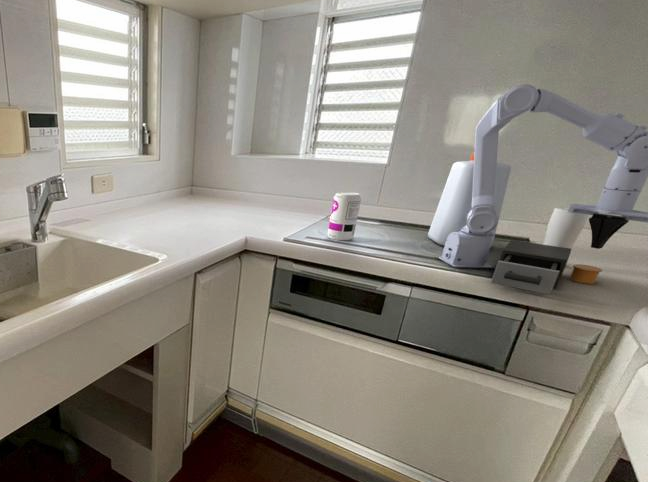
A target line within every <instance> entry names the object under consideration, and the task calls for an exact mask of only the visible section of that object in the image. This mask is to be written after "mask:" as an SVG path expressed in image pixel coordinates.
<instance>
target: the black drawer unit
mask: <svg viewBox="0 0 648 482" xmlns="http://www.w3.org/2000/svg"><path fill="white" fill-rule="evenodd" d="M571 253H572V249H570V248H563V247H556V246H549V245H543V243H542V244H541V243H535V242H528V241H521V240H515V239H511V240H510V241H509V242H508V243H507V245H506V246H505V247H504V248H503V249H502V250H501V254H500V257H499V259H498V261H504V260H505V258H506V257H507V256H508V255H509V254H511V255H517V256H524V257H530V258H536V259H542V260H548V261H554V262H559V263H558V265H557V268H556V270H557V271H560V272H559V274H558V277H557V279H556V282H555V284H554V286H553V289H554V290H556V289H557V287H558V285H559V282H560V280H561V277H562V275H563V273H564V270H565V268H566V266H567V264H568V261H569V258H570V255H571ZM553 289H552V290H553Z"/></svg>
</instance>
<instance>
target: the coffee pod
mask: <svg viewBox="0 0 648 482" xmlns="http://www.w3.org/2000/svg"><path fill="white" fill-rule="evenodd" d="M572 267H573V270H572V272H571V273H570V276H569V279H570V280H571V281H573V282H577V283H582V284H589V285H590V284H593V285H594V284H595V283H596V281H597V279H598V277H599V275H600V273H602V272H603V269H602V268H600V267H597V266H594V265H588V264H579V263H578V264H577V263H575V264H573V265H572Z"/></svg>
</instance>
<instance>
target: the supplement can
mask: <svg viewBox="0 0 648 482" xmlns="http://www.w3.org/2000/svg"><path fill="white" fill-rule="evenodd" d="M361 201H362V198H361V194H360V193H358V192H353V191H352V192H351V191H337V192H336V193H335V195H334V196H333V199H332V204H331V211H330V216H329V222H328V229H327V236H328V238H329V239H332V240H335V241H336V240H337V241H350V240H352V239H353V238H354V237H355V236H354V235H355V231H356V226H357V222H358V217H359V211H360V206H361Z"/></svg>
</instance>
